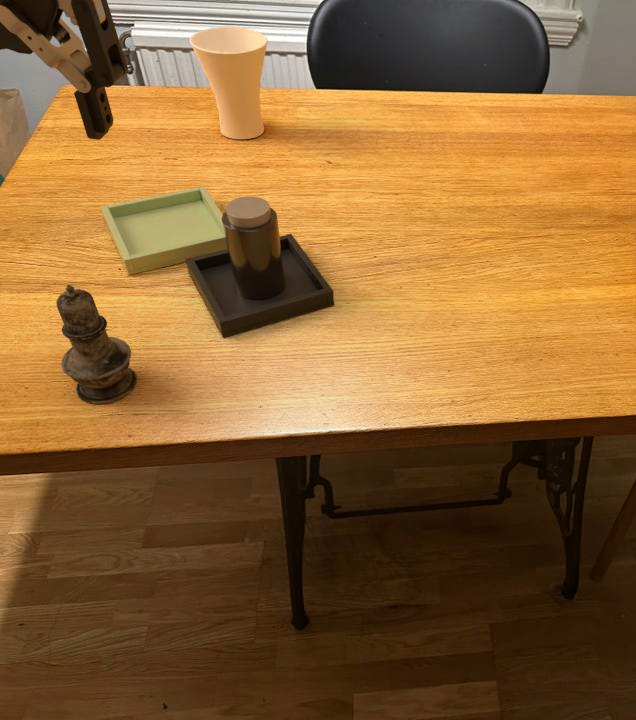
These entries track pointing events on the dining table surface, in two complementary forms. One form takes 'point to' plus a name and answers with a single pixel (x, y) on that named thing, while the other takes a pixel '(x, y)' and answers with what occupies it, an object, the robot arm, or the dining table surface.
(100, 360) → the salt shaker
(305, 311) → the dark tray
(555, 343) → the dining table surface
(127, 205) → the light tray
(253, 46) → the cup
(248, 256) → the brown jar with lid
